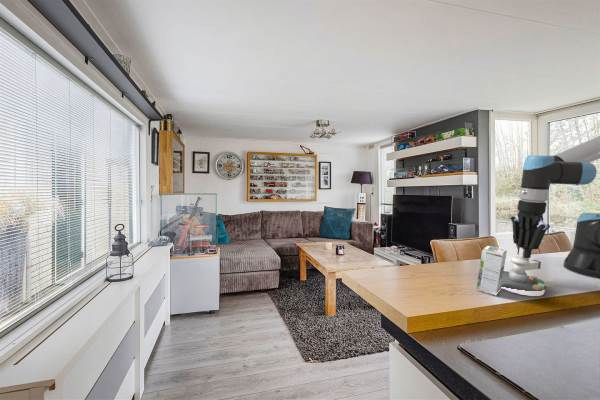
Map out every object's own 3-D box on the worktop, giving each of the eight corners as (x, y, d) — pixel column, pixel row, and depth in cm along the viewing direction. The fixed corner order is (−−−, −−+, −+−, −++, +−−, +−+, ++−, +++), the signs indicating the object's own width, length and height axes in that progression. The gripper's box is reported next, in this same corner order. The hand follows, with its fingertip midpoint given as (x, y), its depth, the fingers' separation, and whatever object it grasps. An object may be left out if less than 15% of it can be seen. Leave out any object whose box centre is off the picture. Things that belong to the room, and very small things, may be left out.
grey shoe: (517, 275, 105) (519, 263, 104) (557, 295, 90) (560, 281, 89) (480, 276, 103) (481, 264, 102) (515, 297, 88) (517, 283, 87)
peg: (520, 275, 93) (522, 262, 92) (506, 269, 97) (508, 257, 96) (544, 271, 96) (546, 259, 95) (529, 266, 100) (531, 254, 99)
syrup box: (480, 285, 96) (485, 244, 94) (501, 291, 92) (507, 249, 90) (475, 290, 92) (481, 248, 90) (497, 297, 88) (503, 253, 86)
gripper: (506, 197, 102) (498, 258, 106) (540, 204, 89) (529, 273, 93) (525, 197, 103) (516, 258, 107) (561, 204, 90) (549, 272, 94)
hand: (522, 265), depth 100 cm, fingers closed
